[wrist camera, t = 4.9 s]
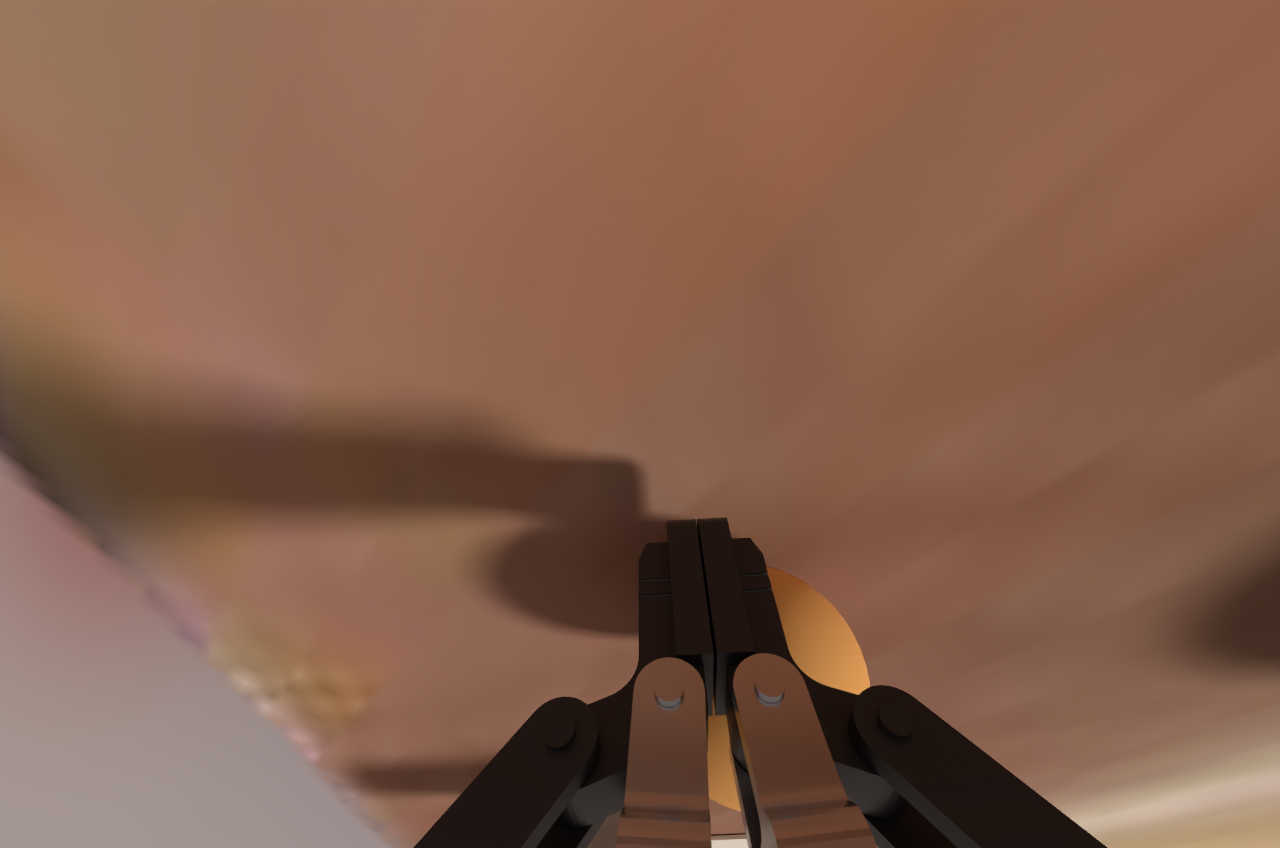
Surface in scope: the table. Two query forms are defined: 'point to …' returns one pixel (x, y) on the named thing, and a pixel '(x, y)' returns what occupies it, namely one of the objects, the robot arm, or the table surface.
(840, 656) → the ball
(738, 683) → the robot arm
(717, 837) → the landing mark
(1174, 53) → the table surface
